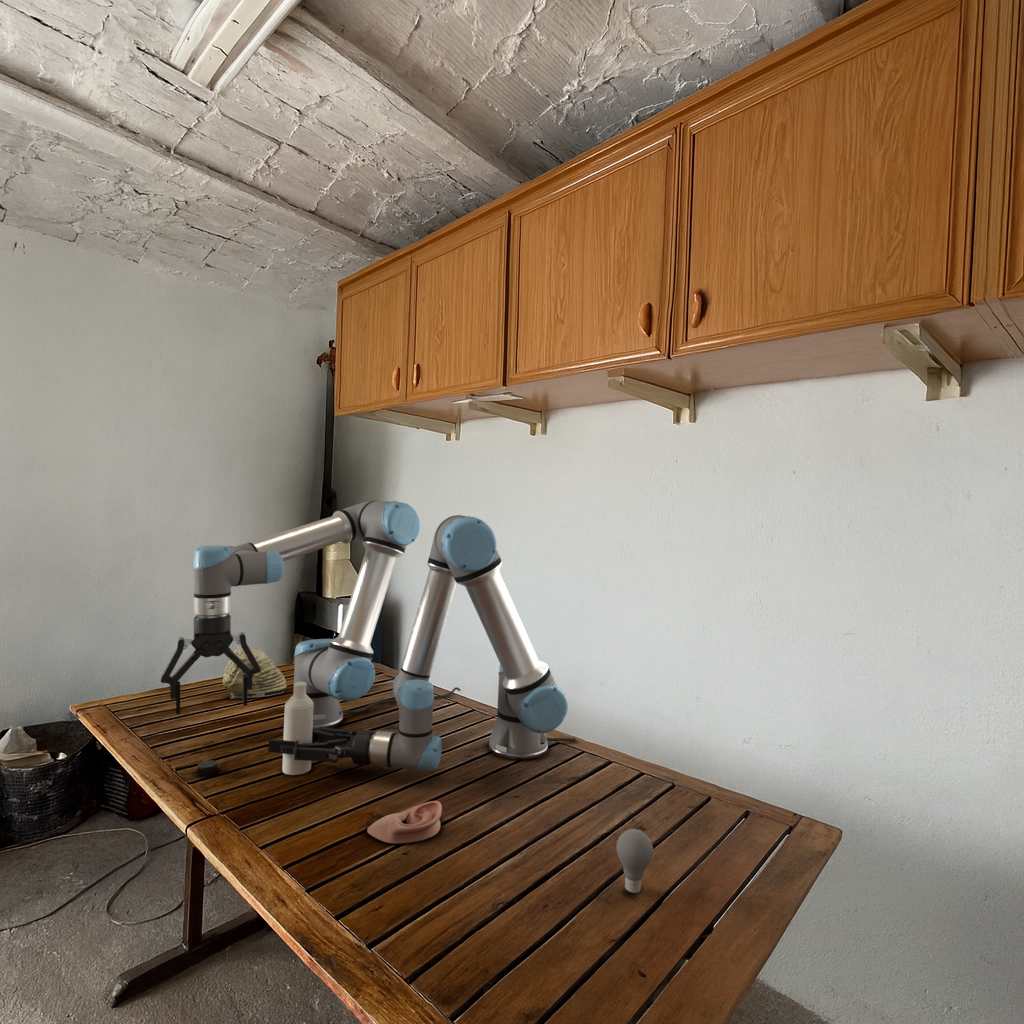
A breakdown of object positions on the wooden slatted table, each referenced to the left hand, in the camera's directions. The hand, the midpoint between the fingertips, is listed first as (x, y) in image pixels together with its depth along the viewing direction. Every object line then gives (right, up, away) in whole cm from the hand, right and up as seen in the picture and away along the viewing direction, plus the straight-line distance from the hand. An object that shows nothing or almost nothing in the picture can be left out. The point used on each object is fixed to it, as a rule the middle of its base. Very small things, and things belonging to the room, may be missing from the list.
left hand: (212, 708), depth 143 cm
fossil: (-13, -13, +55) cm, 58 cm away
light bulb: (+88, -19, -37) cm, 97 cm away
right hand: (+13, -9, +4) cm, 16 cm away
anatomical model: (+47, -17, -21) cm, 54 cm away
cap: (-1, -13, 0) cm, 13 cm away
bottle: (+18, -15, +4) cm, 24 cm away
